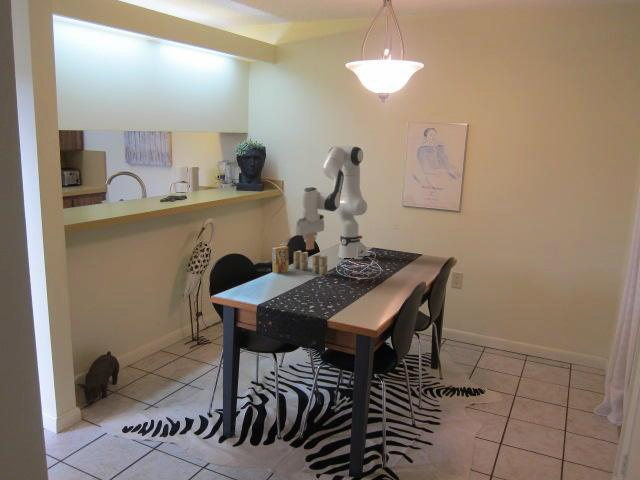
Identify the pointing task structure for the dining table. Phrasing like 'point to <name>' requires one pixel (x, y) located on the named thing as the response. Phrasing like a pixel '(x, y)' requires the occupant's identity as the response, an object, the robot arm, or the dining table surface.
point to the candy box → (280, 259)
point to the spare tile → (310, 241)
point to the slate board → (308, 272)
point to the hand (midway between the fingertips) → (310, 241)
